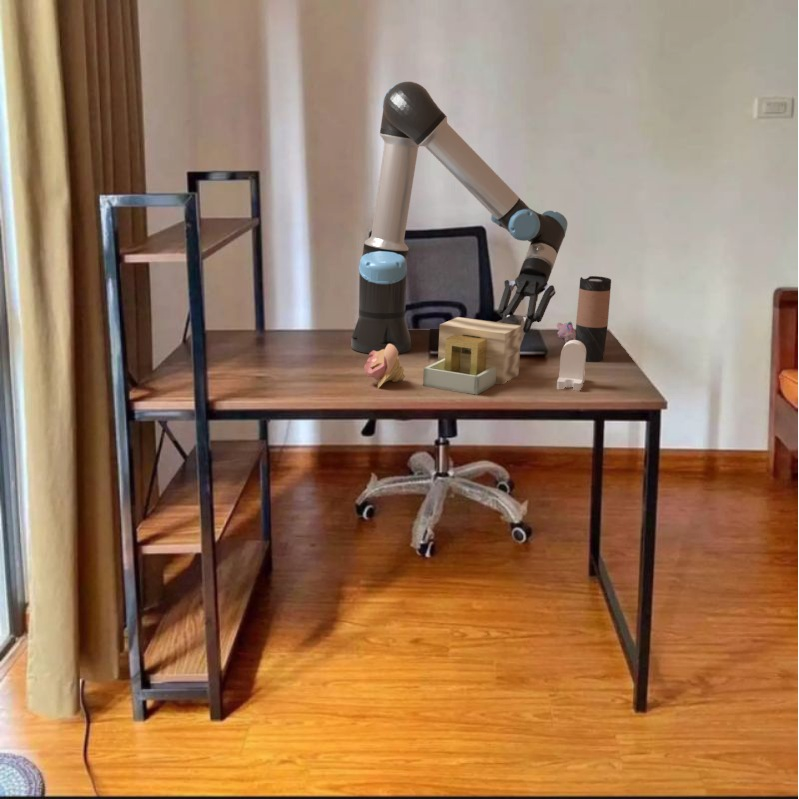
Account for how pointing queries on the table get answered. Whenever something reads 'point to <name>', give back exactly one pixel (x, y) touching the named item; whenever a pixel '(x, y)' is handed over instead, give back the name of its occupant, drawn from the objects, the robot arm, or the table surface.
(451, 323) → the light wood block
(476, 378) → the tray
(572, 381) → the white phone stand
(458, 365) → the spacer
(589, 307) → the travel mug
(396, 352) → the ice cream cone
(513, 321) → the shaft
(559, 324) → the rabbit figure
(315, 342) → the table surface
